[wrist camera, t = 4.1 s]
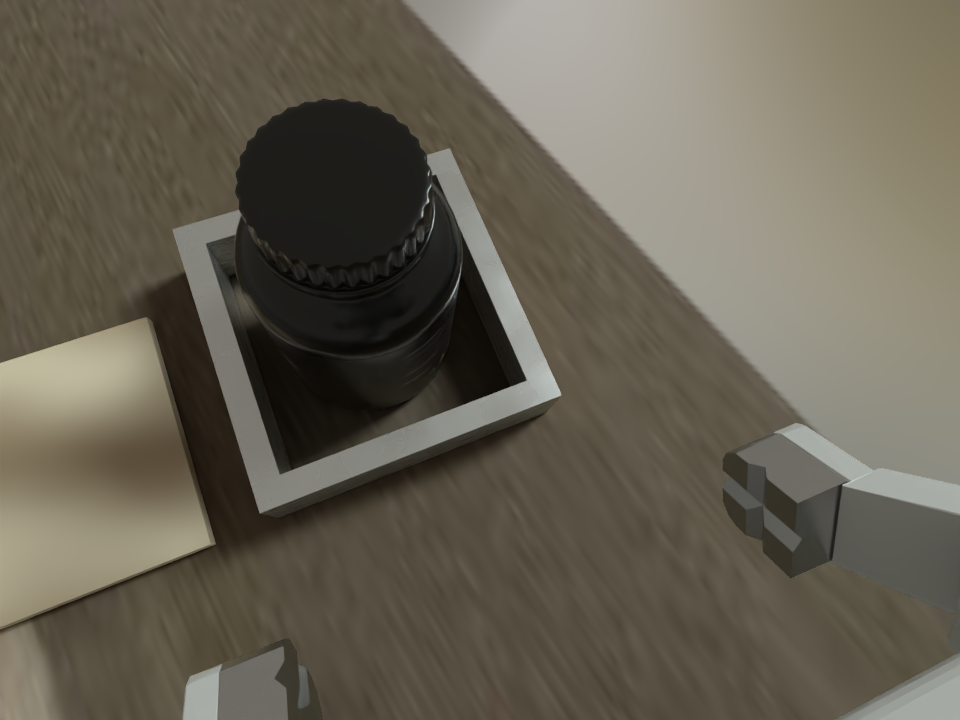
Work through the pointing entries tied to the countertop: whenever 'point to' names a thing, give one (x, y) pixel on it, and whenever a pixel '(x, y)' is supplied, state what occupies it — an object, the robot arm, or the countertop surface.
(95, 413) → the birch pad
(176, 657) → the countertop surface
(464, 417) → the steel holder
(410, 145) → the supplement bottle
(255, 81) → the countertop surface
